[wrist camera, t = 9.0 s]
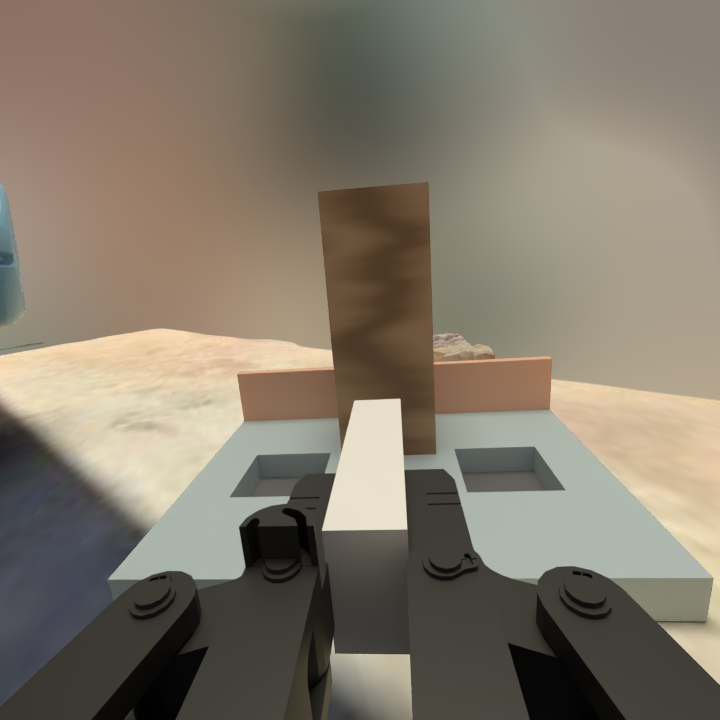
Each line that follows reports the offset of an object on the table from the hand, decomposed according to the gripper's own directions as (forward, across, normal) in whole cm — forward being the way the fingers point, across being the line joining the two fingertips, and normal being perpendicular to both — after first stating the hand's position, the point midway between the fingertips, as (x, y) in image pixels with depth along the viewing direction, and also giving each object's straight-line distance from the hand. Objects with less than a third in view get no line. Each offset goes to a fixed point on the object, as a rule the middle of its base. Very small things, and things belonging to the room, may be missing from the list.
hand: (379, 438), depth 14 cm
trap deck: (+9, 0, -9) cm, 13 cm away
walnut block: (+15, 0, -7) cm, 16 cm away
